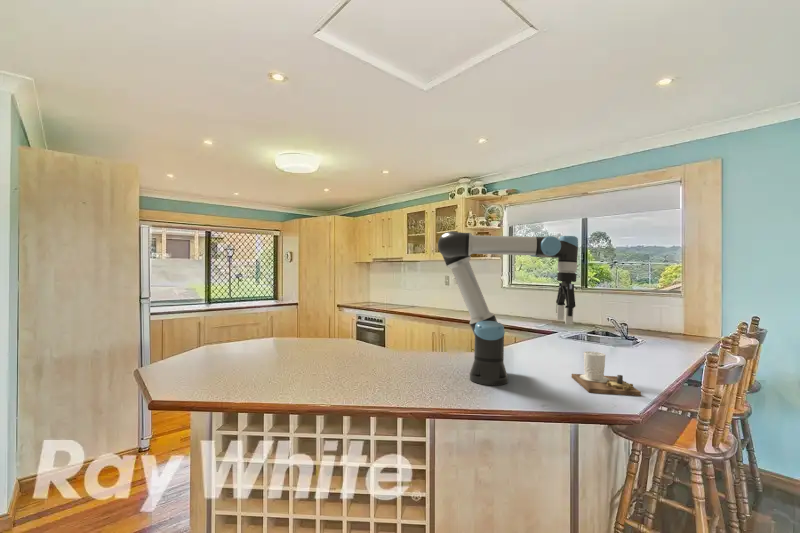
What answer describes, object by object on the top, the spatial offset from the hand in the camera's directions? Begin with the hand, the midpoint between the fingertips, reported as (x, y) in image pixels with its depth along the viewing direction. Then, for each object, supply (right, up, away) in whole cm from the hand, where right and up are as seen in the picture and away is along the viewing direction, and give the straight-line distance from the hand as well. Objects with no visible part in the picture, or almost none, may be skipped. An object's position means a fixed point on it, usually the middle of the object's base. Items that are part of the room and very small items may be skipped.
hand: (564, 322), depth 161 cm
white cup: (+9, -22, -7) cm, 25 cm away
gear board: (+11, -24, -11) cm, 28 cm away
